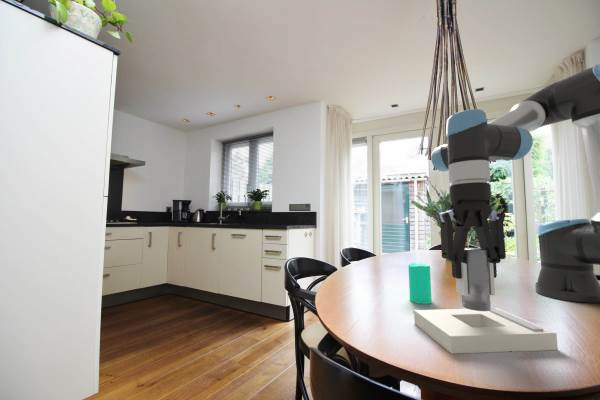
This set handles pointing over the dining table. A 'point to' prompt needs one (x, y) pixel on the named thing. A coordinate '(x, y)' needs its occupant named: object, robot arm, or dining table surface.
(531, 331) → the jig
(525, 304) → the dining table surface
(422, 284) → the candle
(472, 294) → the tall grey prism
